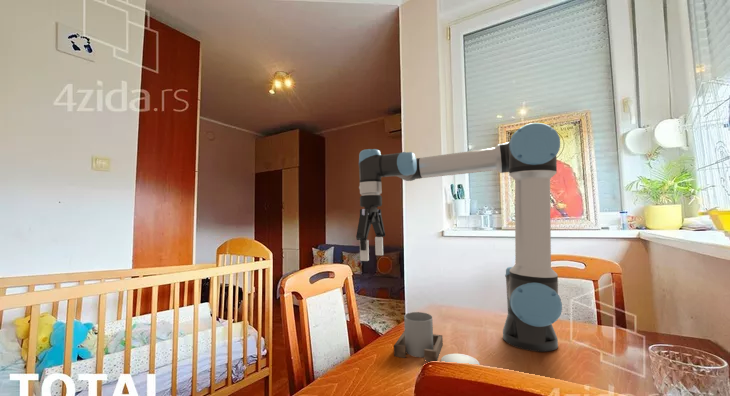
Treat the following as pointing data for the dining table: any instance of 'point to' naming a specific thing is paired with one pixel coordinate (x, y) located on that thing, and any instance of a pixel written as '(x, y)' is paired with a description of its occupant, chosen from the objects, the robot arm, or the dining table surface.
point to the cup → (418, 333)
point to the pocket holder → (428, 353)
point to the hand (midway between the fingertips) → (372, 257)
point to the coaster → (459, 359)
